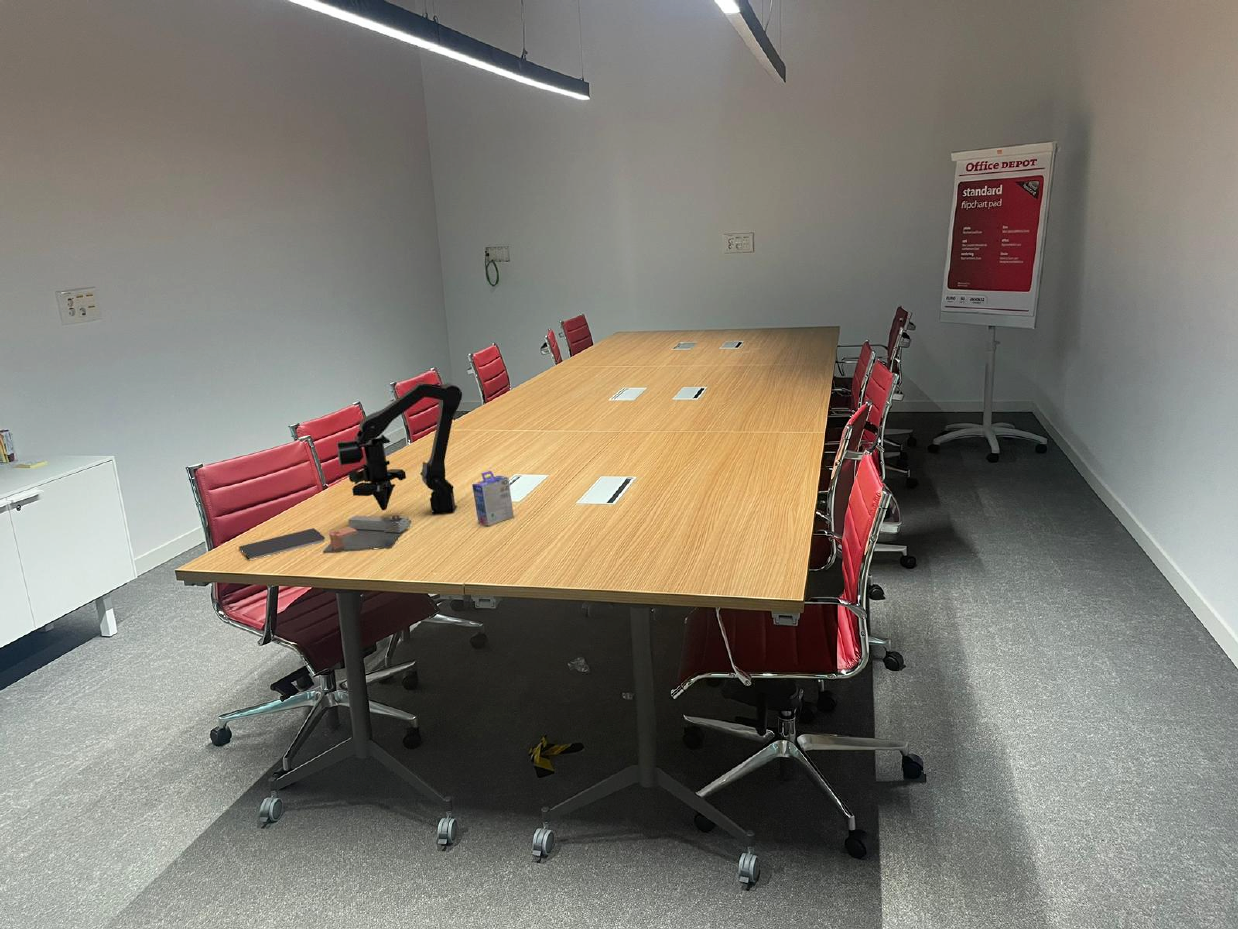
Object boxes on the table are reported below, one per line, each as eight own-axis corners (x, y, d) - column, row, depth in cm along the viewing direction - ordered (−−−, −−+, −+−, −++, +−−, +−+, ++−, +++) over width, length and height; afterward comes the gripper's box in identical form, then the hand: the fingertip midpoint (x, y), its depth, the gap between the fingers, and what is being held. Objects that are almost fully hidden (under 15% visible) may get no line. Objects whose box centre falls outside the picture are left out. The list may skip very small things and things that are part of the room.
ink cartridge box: (503, 514, 269) (497, 467, 265) (515, 517, 265) (509, 469, 261) (476, 523, 262) (470, 475, 258) (488, 526, 258) (481, 478, 254)
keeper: (351, 542, 255) (348, 526, 254) (359, 546, 251) (357, 530, 250) (329, 548, 251) (326, 532, 250) (338, 553, 247) (335, 536, 246)
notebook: (314, 532, 269) (239, 551, 258) (313, 527, 268) (238, 546, 257) (326, 543, 258) (249, 563, 247) (326, 538, 258) (248, 557, 247)
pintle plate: (411, 522, 269) (409, 507, 267) (391, 548, 247) (388, 532, 246) (349, 526, 270) (346, 512, 268) (323, 553, 248) (320, 537, 247)
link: (410, 526, 262) (408, 517, 261) (399, 532, 257) (398, 523, 257) (358, 523, 269) (357, 514, 268) (347, 529, 264) (346, 520, 264)
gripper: (372, 450, 277) (380, 499, 281) (333, 467, 260) (342, 519, 264) (403, 451, 272) (410, 500, 276) (364, 468, 256) (373, 520, 260)
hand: (384, 509), depth 269 cm, fingers closed
